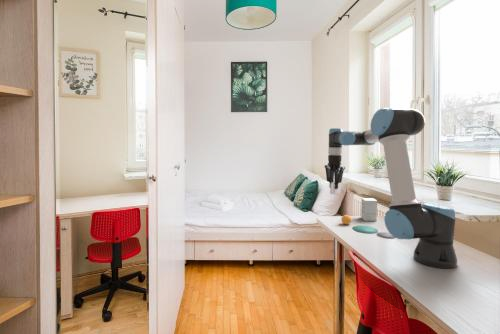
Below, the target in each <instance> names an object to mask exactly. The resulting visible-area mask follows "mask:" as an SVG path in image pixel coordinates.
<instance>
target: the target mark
mask: <svg viewBox="0 0 500 334" xmlns="http://www.w3.org/2000/svg"><path fill="white" fill-rule="evenodd" d="M352 230H353V231H355V232H358V233H362V234H377V233H379V230H378V229H377V228H376V227H373V226H368V225H355V226H352Z"/></svg>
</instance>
